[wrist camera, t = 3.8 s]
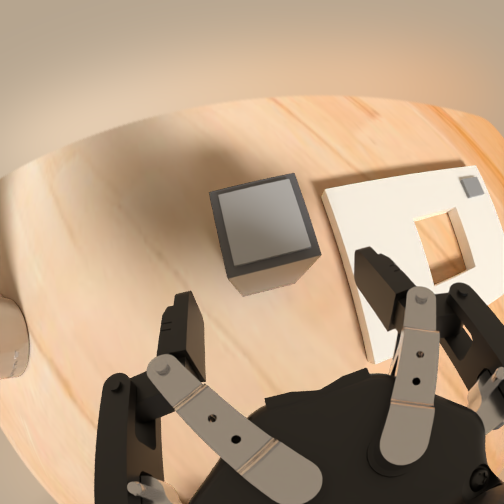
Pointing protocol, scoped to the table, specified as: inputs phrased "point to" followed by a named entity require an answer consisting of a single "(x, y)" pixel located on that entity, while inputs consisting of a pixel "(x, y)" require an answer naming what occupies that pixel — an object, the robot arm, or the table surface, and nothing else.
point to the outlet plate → (416, 236)
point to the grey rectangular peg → (264, 233)
